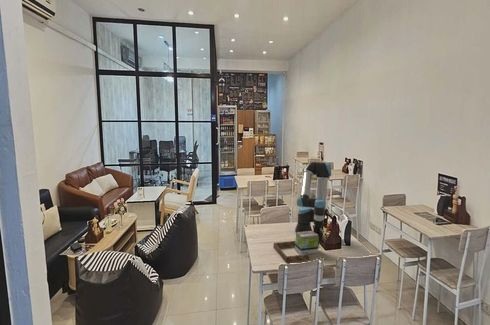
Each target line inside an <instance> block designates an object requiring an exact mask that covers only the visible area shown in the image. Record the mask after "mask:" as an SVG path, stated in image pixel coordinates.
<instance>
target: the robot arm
mask: <svg viewBox="0 0 490 325" xmlns="http://www.w3.org/2000/svg"><path fill="white" fill-rule="evenodd" d="M301 175H302V181H301V189H300V194H299V196H298V197H297V198H296V206H297V207H299V208H298V209H297V223H296V226H295V228H294V232H295V233H296V232H305V231H314V232H315V233H316V234H318V235H319V242H318V249H320V242H322V240H323V236H324V233H325V231H324V230H323V226H324V217H325V214H326V213H330V211H329V210H328V207H327V193H328V180H329V179H330V178H331V177H332V165H331V163H329V162H321V161H311V162H309V163H307V164H306V165H305V166H304V168H303V169H302V173H301ZM313 176H315V177H316V179H317V184H316V186H317V187H316V198H311V197H310V195H311V186H312V178H313ZM312 223H313V224H312ZM311 224H312V225H311Z"/></svg>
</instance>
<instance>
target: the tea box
mask: <svg viewBox="0 0 490 325" xmlns="http://www.w3.org/2000/svg"><path fill="white" fill-rule="evenodd" d="M294 241H295V246H294V250H295V251H296V252H297V253H298V255H303V254H309V255H311V254H318V251H319V248H318V242H319V235H318V234H316V233H315V232H314V231H313V230H312V231H305V232H295V240H294ZM319 243H320V242H319Z"/></svg>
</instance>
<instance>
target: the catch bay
mask: <svg viewBox="0 0 490 325" xmlns="http://www.w3.org/2000/svg"><path fill="white" fill-rule="evenodd" d="M295 241H296V240H288V241H280V242H273V249H274V250H275V251H276V253H277V254H278V255H279V256H280V257H281V258H282V260H283V261H284V262H285V263H293V262H301V261H309V260H310V254H303V255H300V254H298V255H297V254H295V255H289V256H287V254H285V253H284V251H283V250H282V248H288V247H295Z"/></svg>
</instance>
